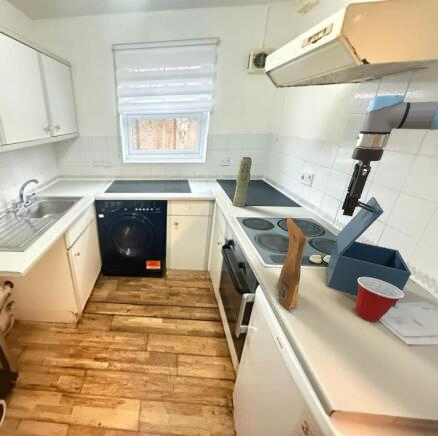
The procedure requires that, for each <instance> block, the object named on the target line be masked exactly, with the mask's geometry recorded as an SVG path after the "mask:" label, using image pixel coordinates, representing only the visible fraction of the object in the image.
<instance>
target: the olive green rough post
mask: <svg viewBox="0 0 438 436" xmlns="http://www.w3.org/2000/svg"><path fill="white" fill-rule="evenodd" d="M252 164H253V161H252V157H250V156H242V157H241V159H240V161H239V165H238V172H237V174H236V181H235V182H236V186H235V190H234V191H235V192H234V195H233V203H232V205H233V206H234V207H238V208H244V207H246V203H247V198H248V197H247V194H248V188H249V184H250V180H251V169H252Z"/></svg>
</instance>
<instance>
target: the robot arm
mask: <svg viewBox="0 0 438 436" xmlns="http://www.w3.org/2000/svg"><path fill="white" fill-rule="evenodd" d="M404 99H405V96H404V95H403V94H389V95H387V94H386V95H376V96H373V98H371V99H370V101H369V104H368V107H367V109H366V112H365V114H364V118H363V121H362V124H361V126H360V131H359V134H358V136H356V137H355V138H354V139H355V140H356V143H355V148H353V152H352V155H351V159H352V160H355V161H358V162H356V163H355V164H354V166H353V171H352V175H351V178H350V181H349V183H348V186H347V190H346V194H345V197H344V200H343V203H342V206H341V210H343V211H342V216H345V217H354V213H355V210H356V209H357V207H356V205H357V202H358V201H359V200H360V199H362V194H363V192H364V189H365V186H366V183H367V180H368V177H369V175H370V173H371V170H372V166H371V162H380V161H381V159H382V157H383V154H384V152H385V150H384V148H386V147H387V145H388V142H389V140H390V137H391V134H392V131H393V130H424V131H425V130H429V131H436V130H437V131H438V100H437V101H436V100H435V101H414V102H413V101H411V102H410V101H408V102H407V101H405V100H404Z"/></svg>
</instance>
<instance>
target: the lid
mask: <svg viewBox="0 0 438 436" xmlns="http://www.w3.org/2000/svg"><path fill="white" fill-rule="evenodd" d="M356 208H361V209H359V211H358V212H357V213H356V214H355V215H353V216H352V218H351V219H350V220H349V222H348V223H347V224H345V226H344V227H343V228H342V229H341V230H340V231H339V232H338V234H337V235H336V239H337V245H338V254H339V255H342V254H343V253H344V252H345V251H346V250H347V249H348V248H349V247H350V246H351V245H352V244H353V243H354V242H355V241H356V242H357V241H358V239H359V238H360V237H361V236H362V235H363V234H364V233H365V232H366V231H367V230H368V229H369V228H370V227H371V226H372V225H373V224H374V222H376V221H377V220H378V218H380V216H382V215H383V213H384V212H385V211H384V210H383V208H382V207H381V205H380V203H379V202H378V200H377V199H376V197H374V196H372V197H371V198H370V199H369V200H368V201H367V202H366V203H365V202H363V201H361V200H358V202H357V205H356Z"/></svg>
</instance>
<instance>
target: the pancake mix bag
mask: <svg viewBox="0 0 438 436" xmlns="http://www.w3.org/2000/svg"><path fill="white" fill-rule="evenodd" d="M286 225H287V232H288V239H289V240H288V248H287V249H288V250H287V254H286V257H285V259H284V262H283V265H282V267H281V270H280V274H279V277H278V280H277V291H278V299H279V304H280V305H281V306H282V307H283V308H285V310H287V311H289V312H290V311H291V309H293V308H295V306H296V303H297V300H298V298H299V297H298V295H299V288H300V280H301V271H302V261H303V257H304V256H303V255H304V252H305V247H306V244H307V242H308V240H307V238H306V236H305V234H304V233H303V231H302V230H301V228H300V227H299V226H298V225H297V224H296V223H295V221H294V220H293V218H292V217H291V216H290V217H289V218H287V220H286Z"/></svg>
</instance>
